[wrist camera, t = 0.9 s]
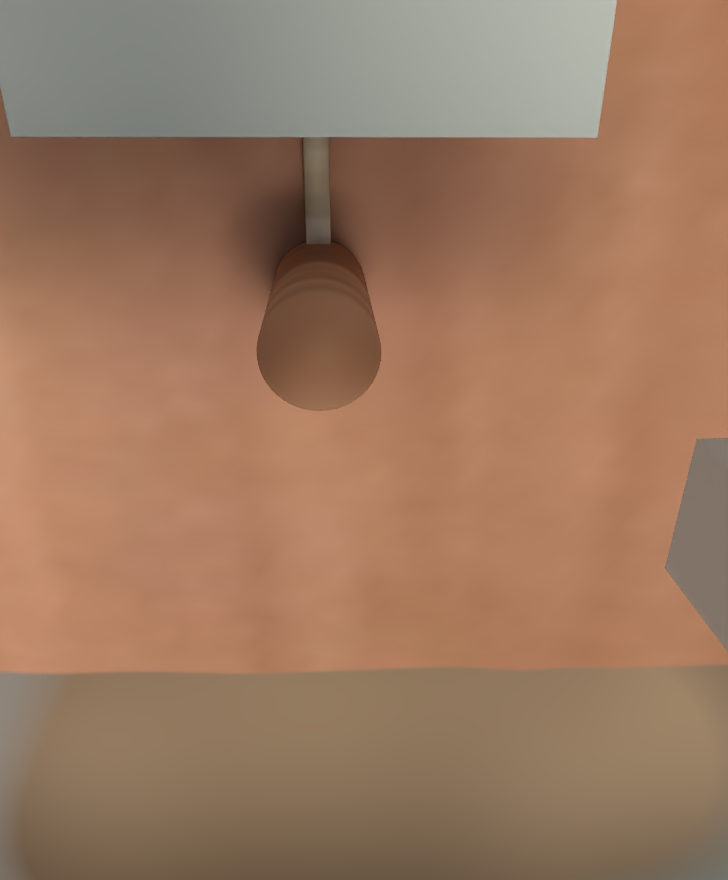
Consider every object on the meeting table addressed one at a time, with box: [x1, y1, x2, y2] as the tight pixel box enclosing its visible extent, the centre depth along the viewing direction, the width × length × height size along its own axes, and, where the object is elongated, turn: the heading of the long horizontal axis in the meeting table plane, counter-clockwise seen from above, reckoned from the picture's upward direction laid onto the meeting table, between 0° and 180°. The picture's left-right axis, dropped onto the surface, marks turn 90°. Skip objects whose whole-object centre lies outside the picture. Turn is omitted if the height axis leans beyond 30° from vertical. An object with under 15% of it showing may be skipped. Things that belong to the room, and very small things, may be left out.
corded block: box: [257, 137, 381, 411], centre depth 19 cm, size 20×6×8 cm, turn 0°
